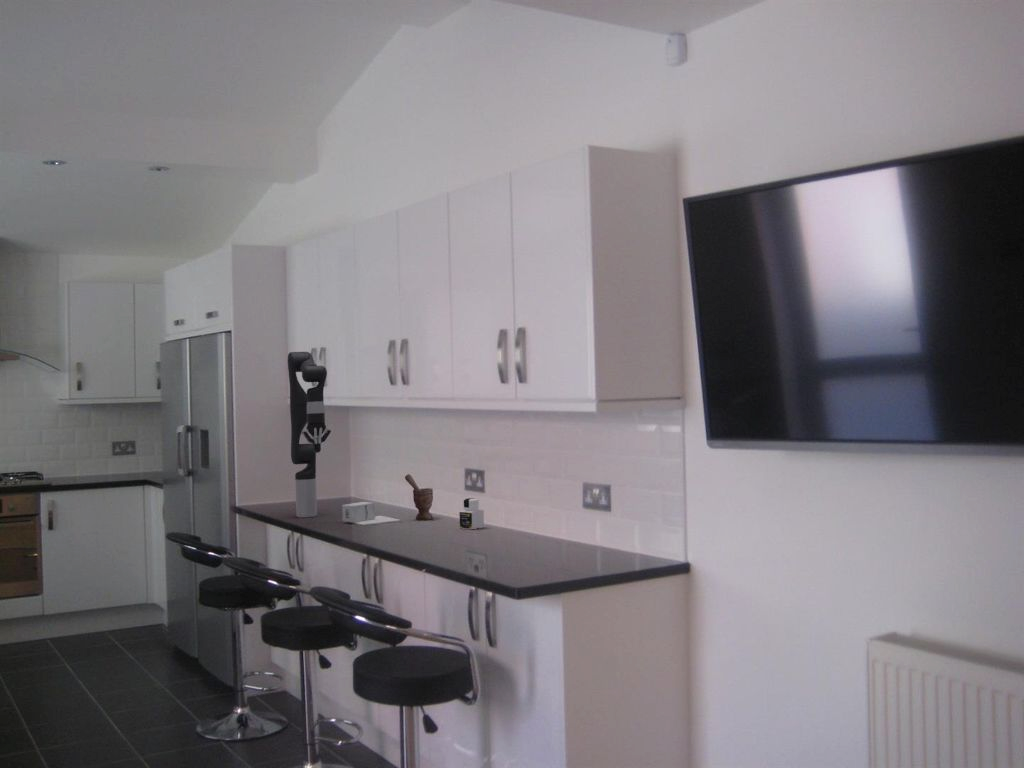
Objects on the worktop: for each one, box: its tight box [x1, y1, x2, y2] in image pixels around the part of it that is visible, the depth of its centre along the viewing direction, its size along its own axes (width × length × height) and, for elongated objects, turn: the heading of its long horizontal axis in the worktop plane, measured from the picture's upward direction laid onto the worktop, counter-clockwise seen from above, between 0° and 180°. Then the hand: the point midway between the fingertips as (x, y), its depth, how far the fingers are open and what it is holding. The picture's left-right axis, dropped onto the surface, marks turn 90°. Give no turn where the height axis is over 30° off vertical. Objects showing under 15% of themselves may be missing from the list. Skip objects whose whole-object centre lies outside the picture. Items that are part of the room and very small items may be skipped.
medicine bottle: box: [458, 497, 485, 530], centre depth 426 cm, size 7×7×12 cm
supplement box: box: [341, 501, 376, 524], centre depth 456 cm, size 7×7×13 cm
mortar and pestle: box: [404, 473, 434, 521], centre depth 457 cm, size 12×9×20 cm
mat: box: [348, 515, 402, 527], centre depth 456 cm, size 20×18×1 cm
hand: (317, 452), depth 452 cm, fingers closed
